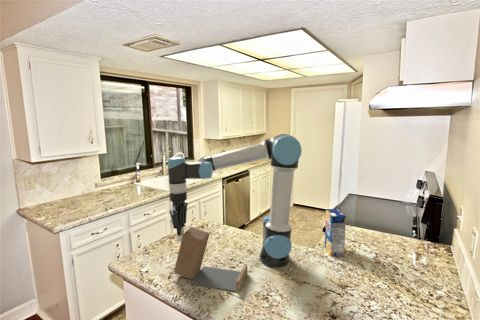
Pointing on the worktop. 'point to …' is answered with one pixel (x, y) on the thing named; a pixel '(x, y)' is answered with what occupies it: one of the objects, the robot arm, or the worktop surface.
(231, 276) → the mat
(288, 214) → the robot arm
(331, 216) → the beverage box
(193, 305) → the worktop surface
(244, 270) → the stop rail
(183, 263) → the wooden block
